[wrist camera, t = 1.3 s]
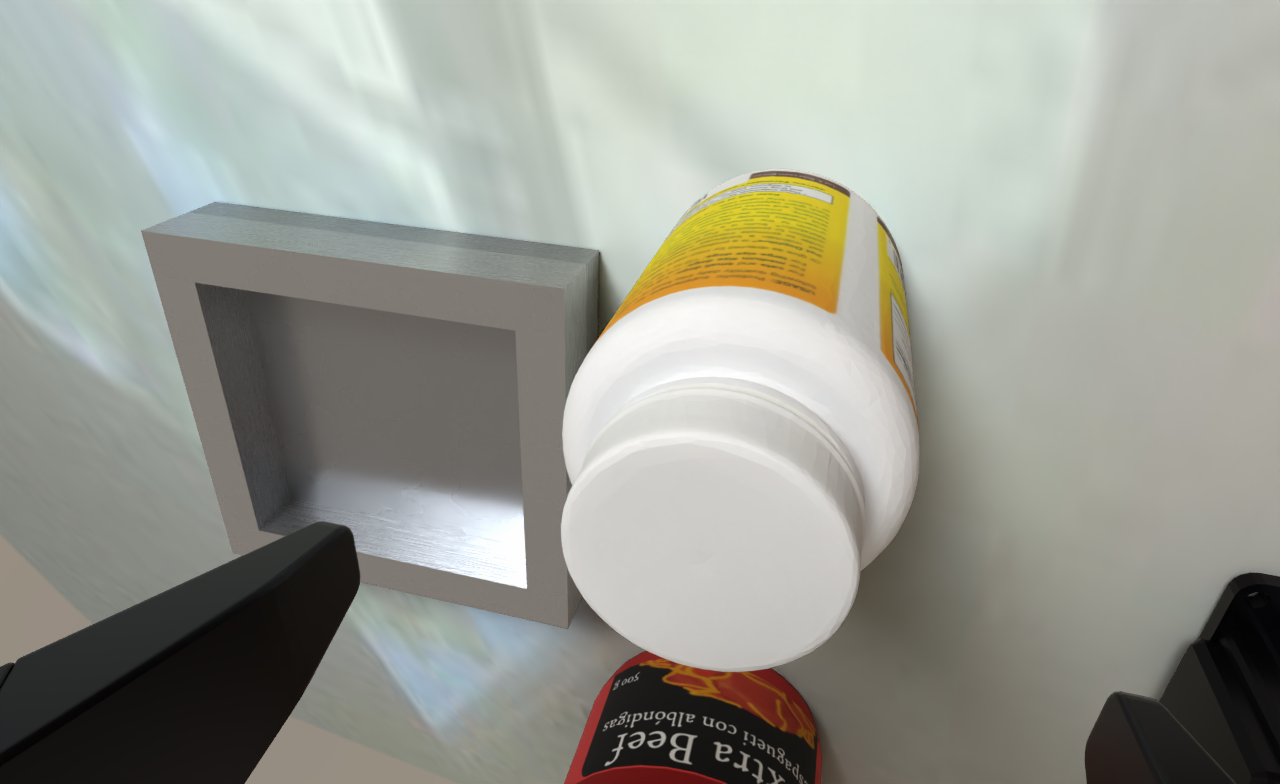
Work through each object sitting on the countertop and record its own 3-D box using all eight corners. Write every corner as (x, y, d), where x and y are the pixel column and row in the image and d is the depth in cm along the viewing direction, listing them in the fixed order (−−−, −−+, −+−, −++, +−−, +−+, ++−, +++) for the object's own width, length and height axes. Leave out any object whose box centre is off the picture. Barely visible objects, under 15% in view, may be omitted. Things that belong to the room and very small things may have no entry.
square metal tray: (599, 250, 20) (564, 289, 17) (594, 568, 25) (567, 629, 23) (215, 202, 22) (141, 230, 20) (284, 503, 27) (232, 553, 25)
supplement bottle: (621, 272, 20) (424, 525, 11) (788, 107, 17) (699, 275, 8) (774, 422, 21) (702, 763, 12) (956, 290, 18) (1033, 611, 9)
